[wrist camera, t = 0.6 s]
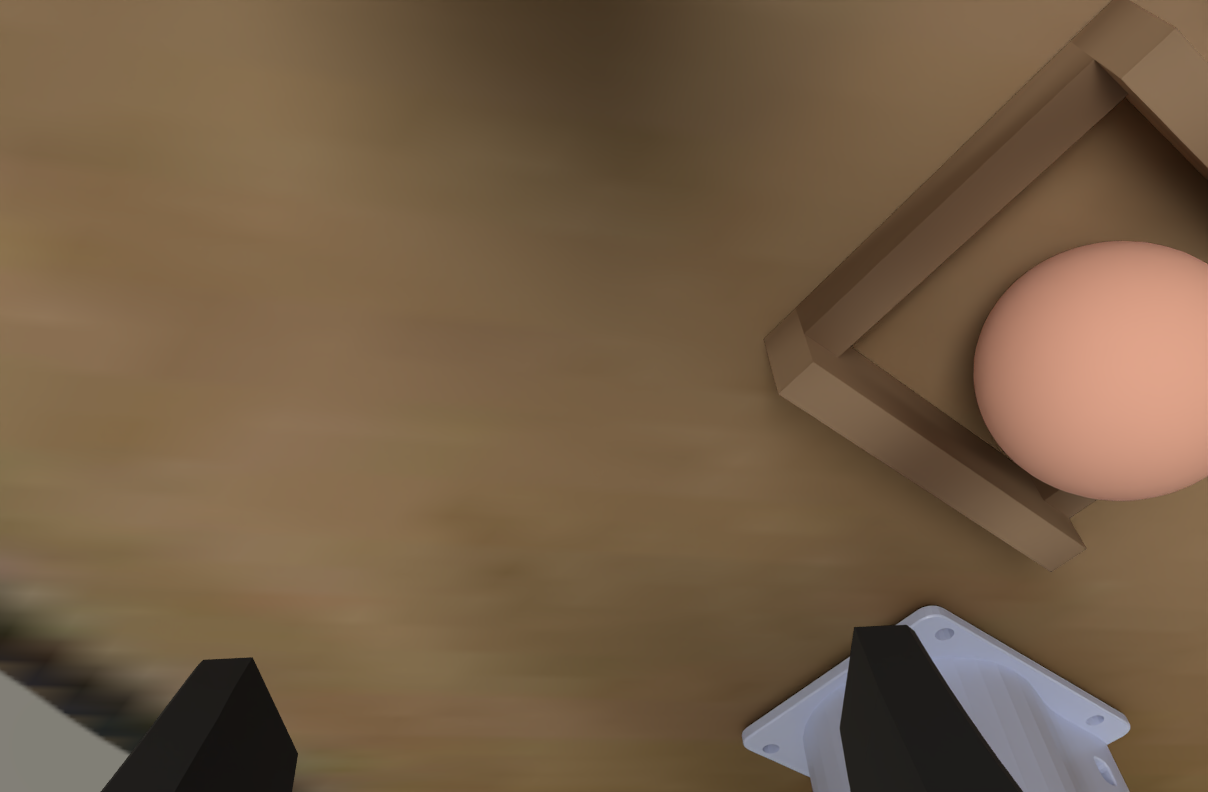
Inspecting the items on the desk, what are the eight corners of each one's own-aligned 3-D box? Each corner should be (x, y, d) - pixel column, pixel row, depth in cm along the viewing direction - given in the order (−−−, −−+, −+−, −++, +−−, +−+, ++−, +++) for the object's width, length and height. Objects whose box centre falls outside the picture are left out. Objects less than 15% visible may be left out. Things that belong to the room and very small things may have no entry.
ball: (1230, 282, 20) (1391, 433, 16) (1036, 428, 22) (1133, 591, 18) (1089, 148, 18) (1231, 279, 14) (893, 323, 20) (967, 478, 16)
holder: (1371, 266, 20) (1439, 317, 18) (1020, 512, 24) (1051, 572, 22) (1118, -6, 16) (1176, 28, 15) (763, 338, 20) (778, 394, 19)
